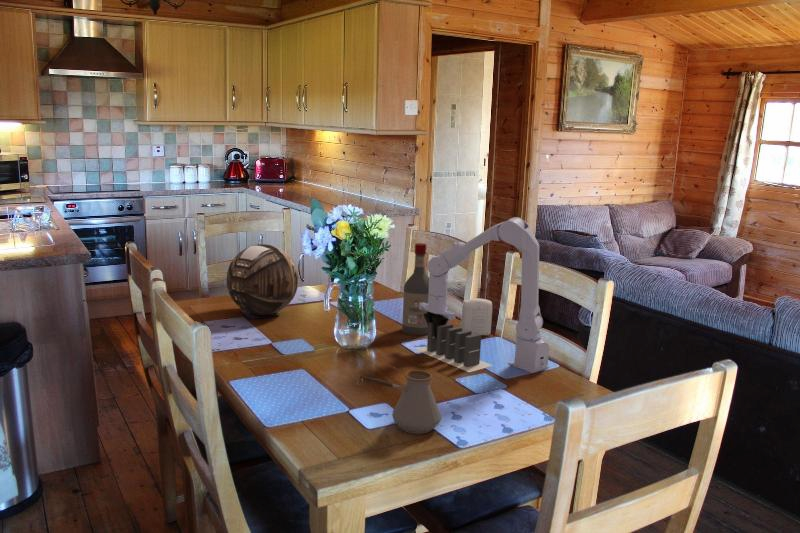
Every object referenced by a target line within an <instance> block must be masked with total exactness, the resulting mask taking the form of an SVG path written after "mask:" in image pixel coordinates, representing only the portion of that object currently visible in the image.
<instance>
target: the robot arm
mask: <svg viewBox="0 0 800 533" xmlns="http://www.w3.org/2000/svg"><path fill="white" fill-rule="evenodd" d="M491 241H495V242H500V241H503V242H504V243H507V244H509V245H512V246H513V247H514V248H516V249H517V250H518V251H519V252H521V288H520V289H521V292H520V293H521V296H520V298H521V300H520V301H521V302H520V304H521V305H520V310H519V316H518V321H517V323H516V325H515V332H516V335H515V336H516V338H515V347H514V349H515V351H514V360H511V361H507V362H508V363H507V364H508V365H510V366H513V367H516V368H518V369H520V370H523V371H526V372H528V373H532V374H533V373H537V372H539V371H543V370H546V369H549V368H550V366H549V365H548V364H549V354H550V353H549V352H550V346H549V344H548V343H547V342H546V341H544V340H543V339H542V334H541V332H540V330H541V329H542V328H543V324H544V319H543V317H542V314H541V308H540V305H539V289H540V288H539V287H540V286H539V284H540V283H539V282H540V280H539V278H540V243H539V241H538V240H537V238H536V236H535V235H534V232H533V231H532V230H531V227H530V224H529V223H528V222H527V221H525V220H524V219H522V218H521V217H517V216H514V217H511V218H509V219H507V220H506V221H505V220H504V221H502V222H499V223H498V224H494V225H493V226H491V227H488V228H487V229H486V230H484V231H482V232H481V233H479V234H478V235H477V236H475V237H473V238H472V239H470V240H469V241H467V242H462V241H458V242H457V241H454V243H451V246H450V247H448V248H446V249H445V250H444V251H443V250H441V251H439V252H438V253H439V254H438V255H436V256H433V257H431V259H429V261H428V262H427V267H426V268H427V271H428V272H429V276H428V277H429V294H428V303H424V302H423V303H419V309H420V310H426V311H427V313H426V314H424V317H425V319H426V322H427V324H428V323H429V322H433V323H434V336H435V338H437V326H439V325H444V324H448V321H454V320H456V316H457V315H456V314H457V313H456V312H453V311H452V310H451V309H449V306H448V304H447V303H448V286H449V285H448V283H449V279H448V278H449V271H450V270H451V269H454V268H455V267H458V266H459V265H461V264H462V263H464V262H466V261H468V260H469V259H470V257H471V255H472V252H474V251H475V250H477V249H479V248H481V247H482V246H484V245H486V244H488V243H489V242H491Z"/></svg>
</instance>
